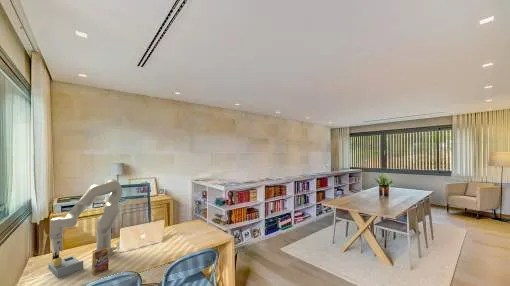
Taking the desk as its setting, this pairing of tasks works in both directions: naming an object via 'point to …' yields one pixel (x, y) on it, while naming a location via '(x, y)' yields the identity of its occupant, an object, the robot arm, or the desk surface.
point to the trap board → (66, 266)
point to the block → (57, 262)
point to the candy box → (100, 260)
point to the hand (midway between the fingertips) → (55, 261)
